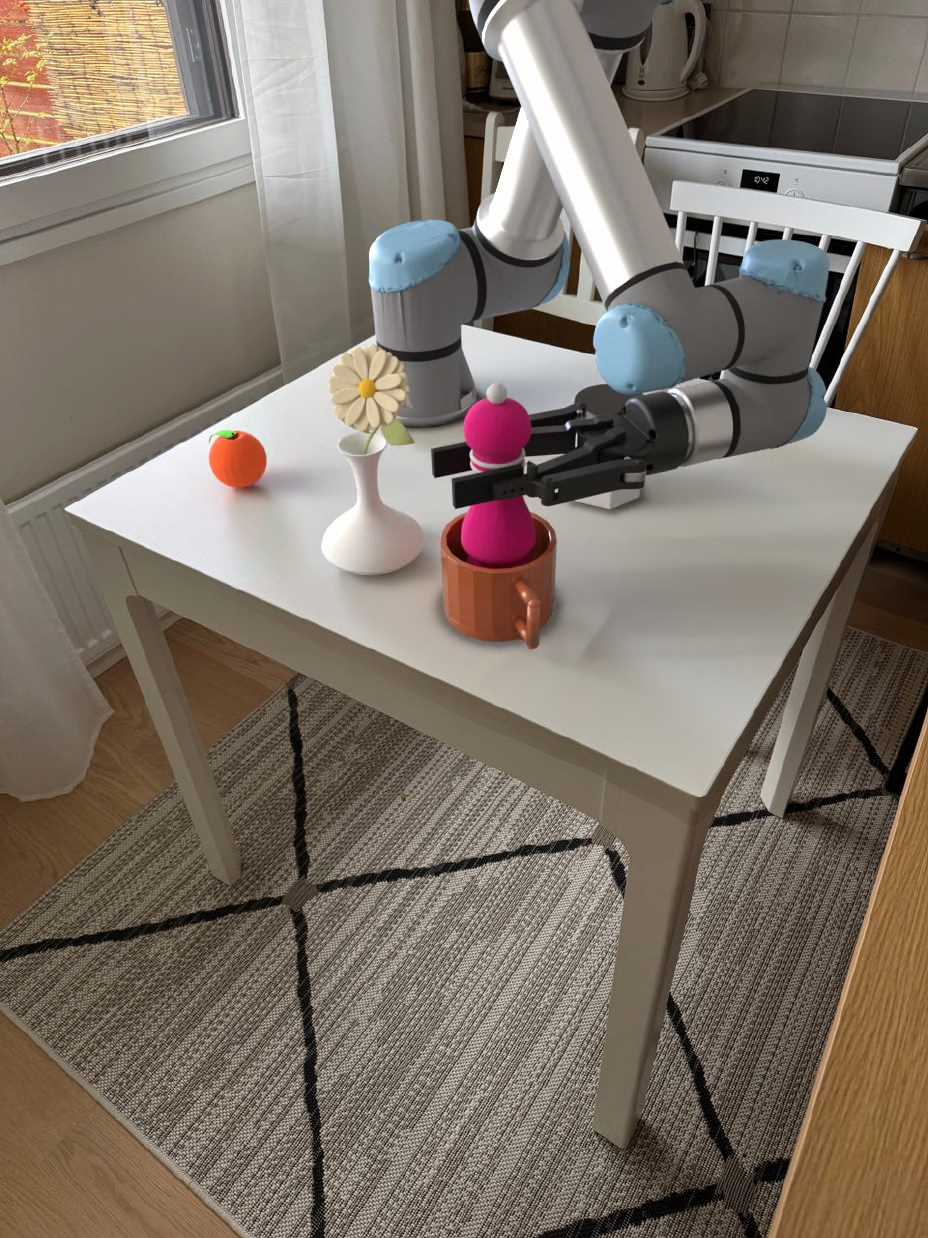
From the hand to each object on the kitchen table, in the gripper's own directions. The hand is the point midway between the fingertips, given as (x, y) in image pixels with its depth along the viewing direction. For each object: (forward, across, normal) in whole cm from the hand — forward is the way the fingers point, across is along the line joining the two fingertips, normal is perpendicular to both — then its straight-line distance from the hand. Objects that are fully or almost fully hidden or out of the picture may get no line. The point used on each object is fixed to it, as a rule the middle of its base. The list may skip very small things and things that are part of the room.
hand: (443, 478), depth 81 cm
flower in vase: (+4, +13, -16) cm, 21 cm away
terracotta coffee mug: (-5, -2, -16) cm, 17 cm away
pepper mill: (-5, 0, -12) cm, 13 cm away
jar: (-25, +16, -16) cm, 34 cm away
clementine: (+16, +35, -16) cm, 42 cm away
